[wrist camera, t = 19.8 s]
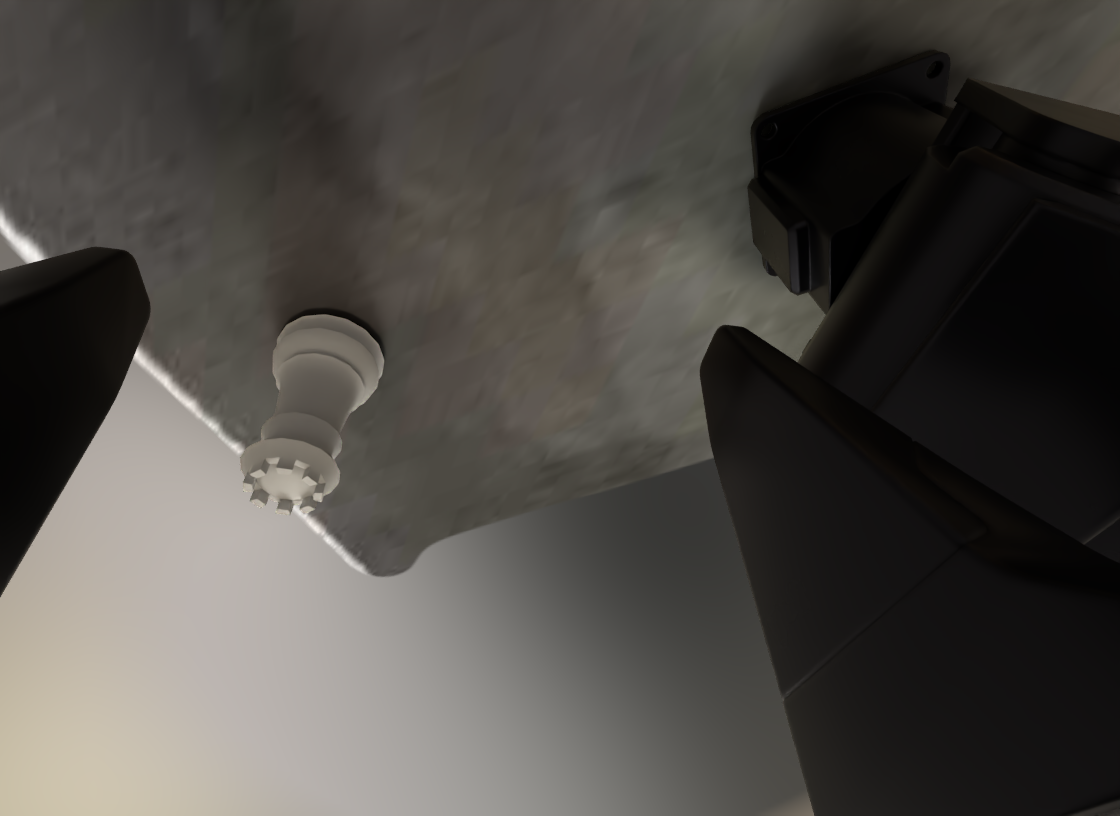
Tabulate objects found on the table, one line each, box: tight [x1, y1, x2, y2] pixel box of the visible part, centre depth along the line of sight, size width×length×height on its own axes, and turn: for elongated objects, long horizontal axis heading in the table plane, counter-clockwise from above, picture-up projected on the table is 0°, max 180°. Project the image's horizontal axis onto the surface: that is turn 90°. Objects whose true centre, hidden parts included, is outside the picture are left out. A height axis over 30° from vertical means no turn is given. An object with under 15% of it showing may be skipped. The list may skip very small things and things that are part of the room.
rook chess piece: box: [240, 314, 384, 515], centre depth 22 cm, size 4×4×8 cm
